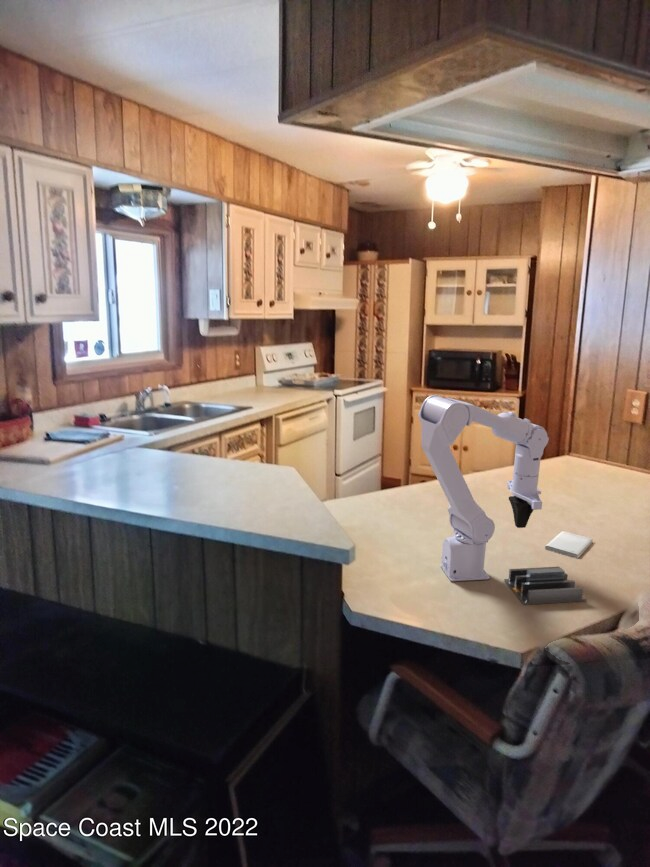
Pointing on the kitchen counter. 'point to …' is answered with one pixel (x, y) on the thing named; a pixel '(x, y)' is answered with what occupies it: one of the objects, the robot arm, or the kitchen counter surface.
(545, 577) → the panel
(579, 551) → the hard drive
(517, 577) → the slot rack
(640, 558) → the kitchen counter surface
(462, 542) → the robot arm
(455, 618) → the kitchen counter surface
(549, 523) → the kitchen counter surface
